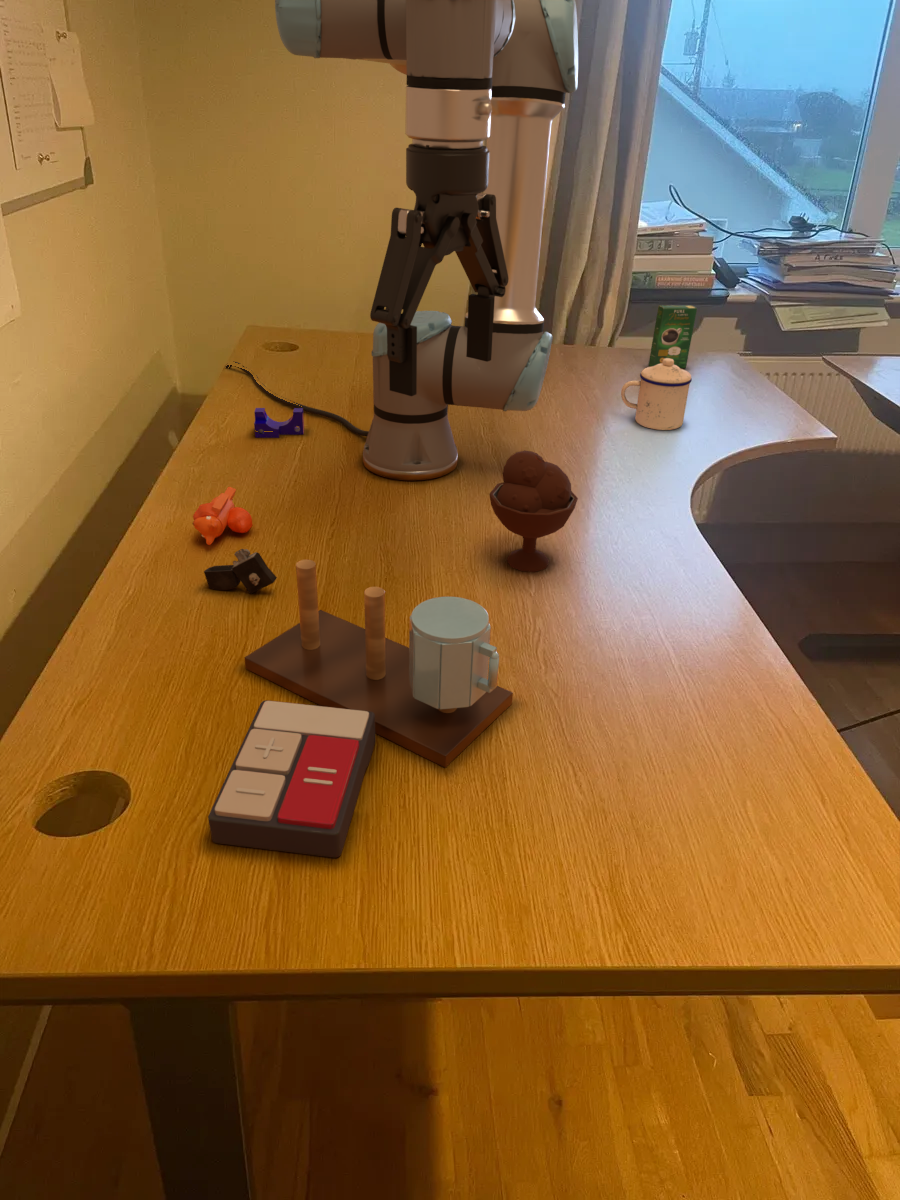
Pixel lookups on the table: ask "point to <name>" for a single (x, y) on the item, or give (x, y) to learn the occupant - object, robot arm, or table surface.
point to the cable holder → (278, 424)
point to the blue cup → (451, 653)
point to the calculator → (295, 779)
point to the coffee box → (672, 334)
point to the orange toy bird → (221, 517)
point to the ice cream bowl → (532, 505)
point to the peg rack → (367, 676)
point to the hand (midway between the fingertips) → (442, 375)
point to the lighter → (241, 573)
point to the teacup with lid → (660, 396)
